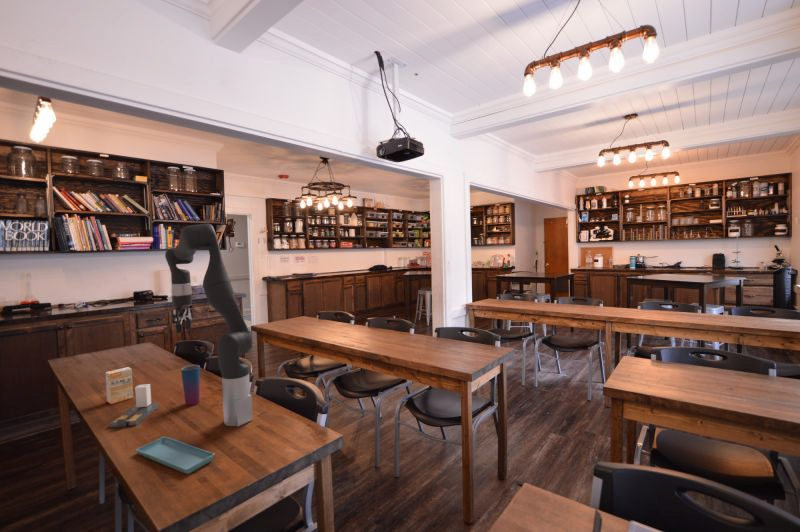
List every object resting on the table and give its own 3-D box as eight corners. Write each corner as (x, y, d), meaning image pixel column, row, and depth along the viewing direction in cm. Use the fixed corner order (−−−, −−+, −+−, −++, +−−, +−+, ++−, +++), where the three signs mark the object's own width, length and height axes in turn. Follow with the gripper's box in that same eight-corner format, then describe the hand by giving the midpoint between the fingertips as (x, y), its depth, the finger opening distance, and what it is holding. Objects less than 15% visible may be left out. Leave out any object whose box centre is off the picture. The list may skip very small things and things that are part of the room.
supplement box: (110, 404, 156) (108, 373, 156) (106, 402, 159) (104, 371, 158) (133, 398, 163) (131, 368, 162) (129, 395, 166) (127, 366, 165)
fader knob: (140, 404, 152) (139, 384, 151) (151, 403, 152) (150, 383, 152) (136, 407, 149) (135, 387, 148) (147, 406, 149) (146, 386, 149)
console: (136, 407, 153) (135, 400, 153) (160, 405, 154) (159, 399, 154) (108, 428, 135) (107, 421, 135) (135, 426, 136) (134, 419, 136)
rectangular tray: (135, 455, 118) (134, 448, 118) (164, 442, 126) (164, 434, 126) (186, 478, 106) (186, 470, 105) (216, 461, 114) (215, 453, 114)
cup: (193, 407, 152) (191, 370, 151) (179, 406, 153) (177, 370, 152) (205, 400, 159) (203, 365, 158) (191, 399, 160) (189, 364, 159)
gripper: (181, 292, 171) (183, 327, 172) (163, 296, 157) (166, 335, 158) (198, 291, 172) (200, 327, 173) (182, 295, 158) (184, 334, 158)
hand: (184, 330), depth 165 cm, fingers open, 7 cm apart
